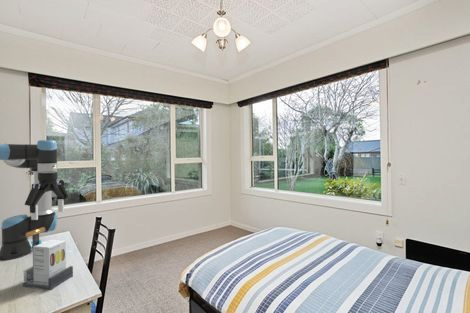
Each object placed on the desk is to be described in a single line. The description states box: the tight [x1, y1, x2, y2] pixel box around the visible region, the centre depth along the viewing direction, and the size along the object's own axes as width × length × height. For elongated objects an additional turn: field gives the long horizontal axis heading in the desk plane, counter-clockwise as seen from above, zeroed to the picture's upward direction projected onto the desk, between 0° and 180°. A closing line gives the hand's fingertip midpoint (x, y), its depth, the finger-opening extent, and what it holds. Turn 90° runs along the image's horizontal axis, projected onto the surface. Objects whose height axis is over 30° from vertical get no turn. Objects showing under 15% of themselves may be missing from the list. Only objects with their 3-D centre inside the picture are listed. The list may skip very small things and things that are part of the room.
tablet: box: [29, 239, 47, 248], centre depth 163 cm, size 20×12×2 cm, turn 44°
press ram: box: [23, 227, 45, 282], centre depth 118 cm, size 11×2×23 cm, turn 171°
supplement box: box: [32, 239, 67, 283], centre depth 117 cm, size 10×9×17 cm
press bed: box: [21, 265, 74, 291], centre depth 117 cm, size 12×16×5 cm
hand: (48, 215), depth 116 cm, fingers open, 13 cm apart
